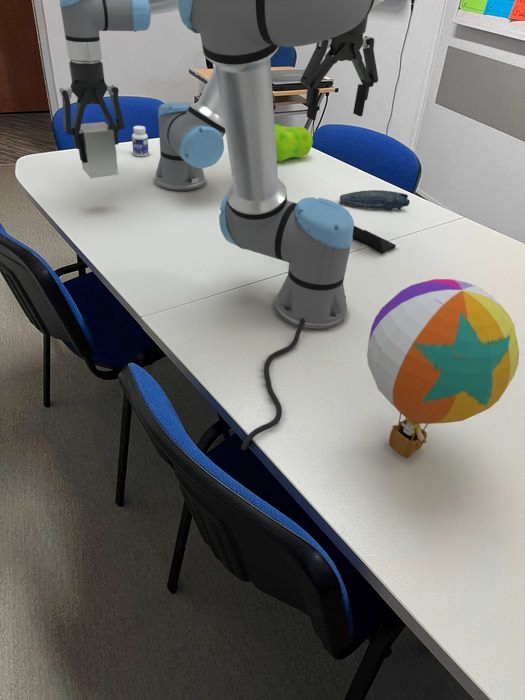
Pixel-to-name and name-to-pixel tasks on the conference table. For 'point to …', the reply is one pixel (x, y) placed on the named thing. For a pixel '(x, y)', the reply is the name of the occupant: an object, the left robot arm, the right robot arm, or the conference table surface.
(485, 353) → the toy
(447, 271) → the conference table surface
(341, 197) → the fish model
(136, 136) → the pill bottle
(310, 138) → the decorative tree
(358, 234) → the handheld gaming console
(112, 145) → the metal block
